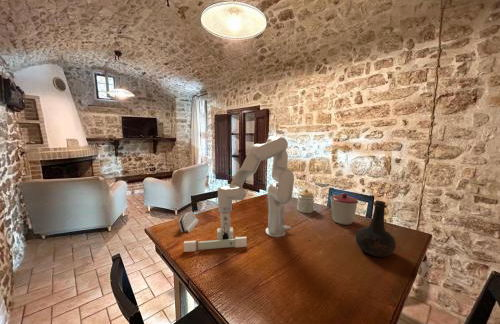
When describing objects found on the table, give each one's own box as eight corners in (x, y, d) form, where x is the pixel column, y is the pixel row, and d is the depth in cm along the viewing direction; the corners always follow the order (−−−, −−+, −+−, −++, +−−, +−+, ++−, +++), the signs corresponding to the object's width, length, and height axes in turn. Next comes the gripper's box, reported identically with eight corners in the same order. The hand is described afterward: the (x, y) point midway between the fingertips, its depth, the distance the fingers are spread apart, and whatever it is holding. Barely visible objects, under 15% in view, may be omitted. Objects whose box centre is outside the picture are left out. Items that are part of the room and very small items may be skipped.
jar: (294, 207, 170) (295, 187, 168) (309, 207, 172) (310, 186, 169) (300, 213, 157) (301, 191, 155) (316, 213, 159) (317, 191, 156)
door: (196, 251, 106) (195, 242, 105) (196, 249, 108) (196, 240, 107) (234, 248, 109) (234, 239, 109) (234, 246, 111) (234, 237, 111)
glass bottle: (347, 246, 113) (351, 197, 109) (370, 240, 119) (375, 194, 115) (377, 265, 97) (383, 209, 92) (402, 257, 103) (409, 205, 99)
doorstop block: (232, 236, 120) (232, 227, 119) (233, 241, 115) (233, 231, 114) (217, 237, 119) (217, 228, 118) (217, 242, 114) (217, 232, 113)
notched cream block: (246, 244, 113) (246, 236, 112) (246, 246, 111) (246, 238, 110) (184, 250, 107) (184, 241, 106) (184, 252, 105) (183, 243, 105)
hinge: (188, 232, 125) (183, 218, 124) (182, 234, 126) (176, 220, 125) (199, 221, 142) (194, 208, 141) (193, 222, 143) (188, 209, 142)
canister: (361, 223, 142) (364, 194, 139) (347, 230, 132) (350, 198, 128) (338, 214, 156) (340, 188, 153) (323, 220, 146) (325, 191, 143)
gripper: (232, 214, 106) (233, 245, 109) (230, 202, 123) (230, 230, 126) (218, 214, 105) (219, 247, 108) (217, 203, 122) (218, 231, 124)
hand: (225, 238), depth 117 cm, fingers closed on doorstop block, 5 cm apart
